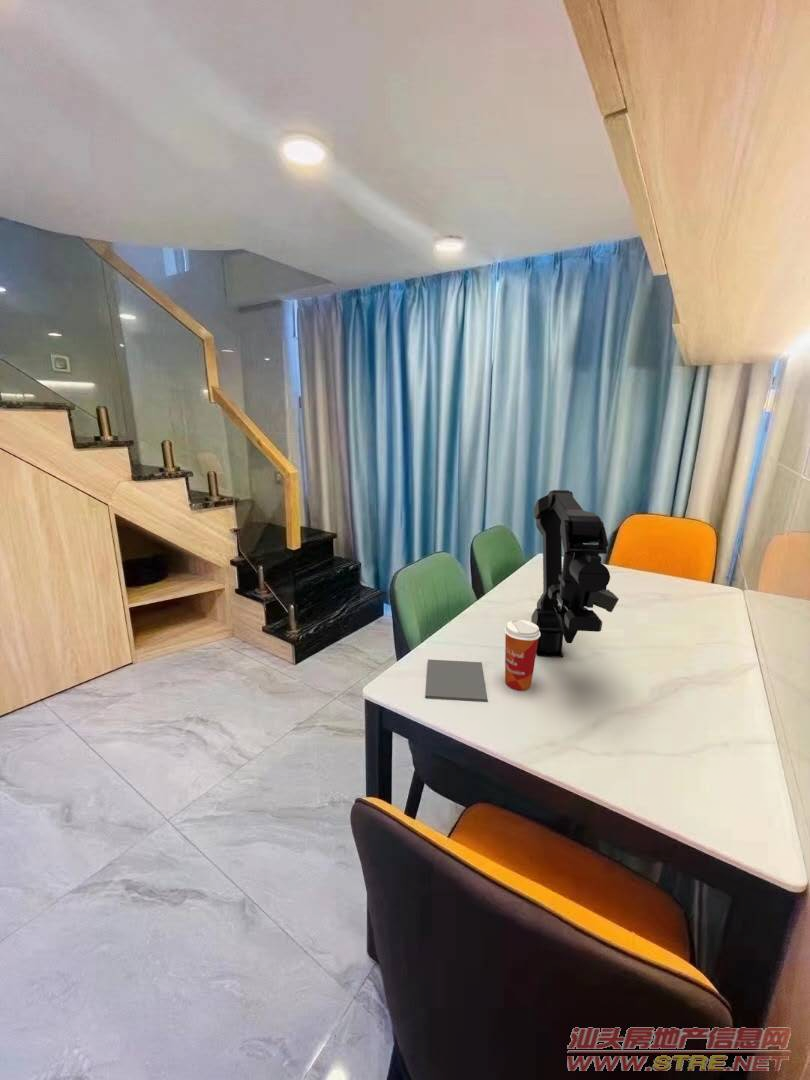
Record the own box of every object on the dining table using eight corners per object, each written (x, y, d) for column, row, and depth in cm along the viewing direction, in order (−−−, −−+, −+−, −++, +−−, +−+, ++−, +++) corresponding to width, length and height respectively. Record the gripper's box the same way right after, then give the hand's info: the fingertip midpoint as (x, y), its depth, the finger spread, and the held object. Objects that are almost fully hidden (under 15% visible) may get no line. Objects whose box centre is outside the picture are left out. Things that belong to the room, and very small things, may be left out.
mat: (481, 664, 107) (481, 662, 107) (487, 701, 92) (487, 699, 92) (427, 661, 108) (427, 659, 108) (425, 698, 93) (425, 695, 93)
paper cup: (493, 677, 101) (497, 621, 98) (522, 671, 104) (526, 616, 100) (513, 697, 94) (518, 637, 91) (543, 689, 97) (549, 631, 93)
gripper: (635, 592, 82) (623, 667, 86) (601, 562, 100) (592, 625, 104) (573, 590, 83) (565, 664, 87) (550, 560, 101) (544, 623, 105)
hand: (568, 642), depth 96 cm, fingers closed
